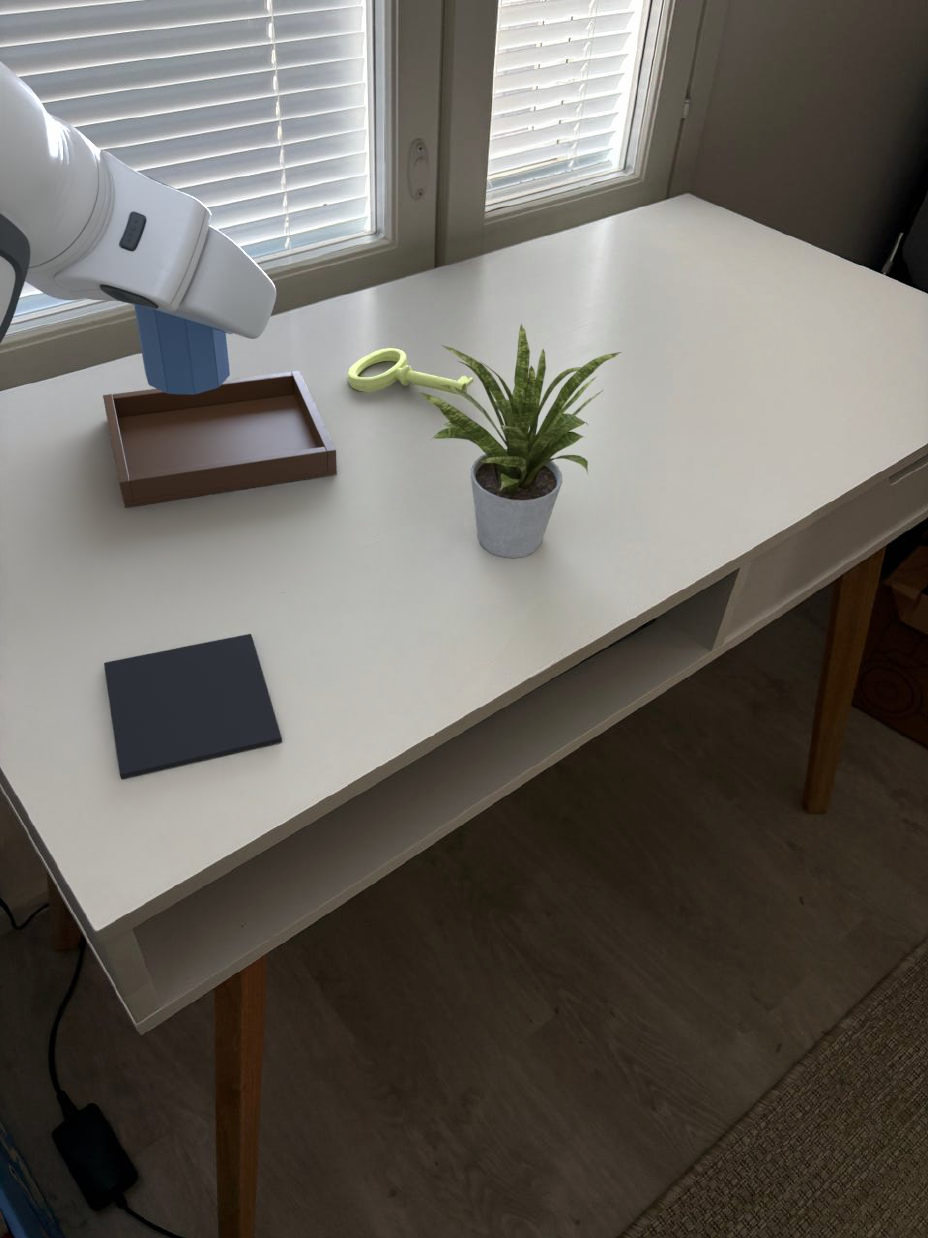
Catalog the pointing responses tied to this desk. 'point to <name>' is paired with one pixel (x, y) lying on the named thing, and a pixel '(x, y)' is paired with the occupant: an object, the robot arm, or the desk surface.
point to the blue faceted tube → (181, 353)
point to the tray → (217, 438)
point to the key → (398, 374)
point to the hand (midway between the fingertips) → (185, 308)
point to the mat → (189, 705)
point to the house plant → (518, 450)
